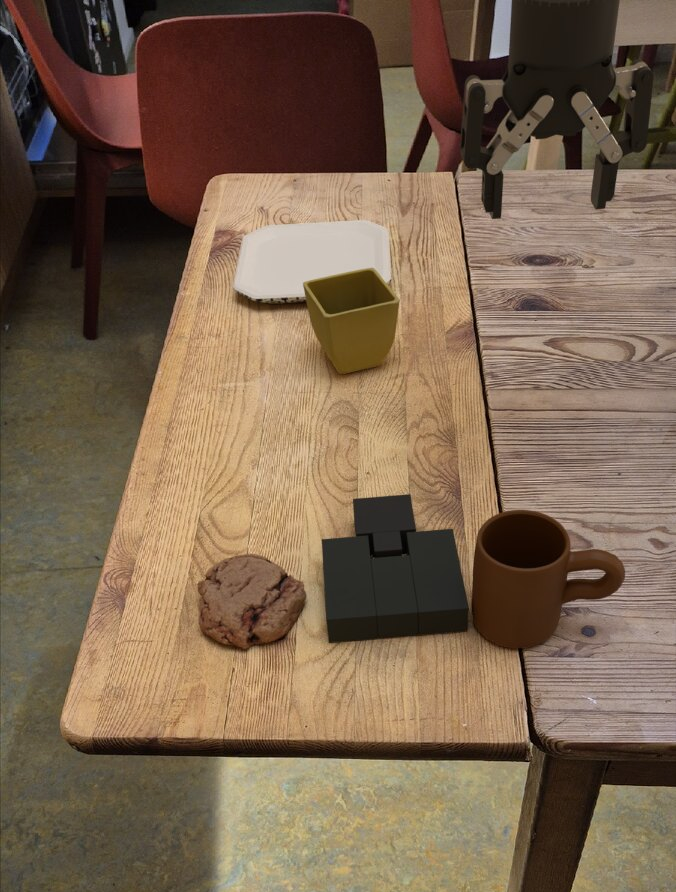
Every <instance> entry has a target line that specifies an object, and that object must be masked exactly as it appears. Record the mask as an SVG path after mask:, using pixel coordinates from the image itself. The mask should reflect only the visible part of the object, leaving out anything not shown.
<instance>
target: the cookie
mask: <svg viewBox="0 0 676 892" xmlns="http://www.w3.org/2000/svg"><path fill="white" fill-rule="evenodd" d="M204 577H205V579H204V580H199V581H198V583H197V592H198V595H199V596H201V599H200V600H199V606H198V611H199V612H200V615H198V620H197V621H198V625H199V629H200V631H201V632H203V633H205V634H206V635H207V636H208V637H211V638H212V639H213V640H215V641H217V643H221V644H222V645H226V646H231V647H232V648H233V647H234V646H235V647H236V648H241V649H242V650H246V649H249V648H250V647H251V646H253V645H260V644H264V645H265V644H266V643H267V644H269V643H270V642H274V641H277V640H279V639H282V638H283V637H284V636H285V635H286V634H289V631H290V629H291V628H292V627H293V626H294V623H295V622H297V620H298V618H299V615H300V614H301V611H303V610H304V605H305V601H306V599H307V592H306V591H305V584H304V582H303V581H302V580H299V579H296V578H295V577H294V576H293V575H292V574H288V573H287V571H286V570H285V569H284V568H283V567H282V566H280V565H279V564H277V563H276V562H273V561H271V560H270V559H269V558H267V557H266V556H264V555H260V554H256V553H244V554H238V555H237V554H236V555H234V556H232V557H226V558H224V559H222V560H221V561H219V562H217V563H216V564H214V565H213V566H212V567H210V568H208V570H207V571H206V572H205V574H204Z"/></svg>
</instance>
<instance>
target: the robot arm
mask: <svg viewBox="0 0 676 892" xmlns="http://www.w3.org/2000/svg"><path fill="white" fill-rule="evenodd" d="M620 2H621V1H620V0H511V5H510V6H511V7H510V8H511V9H510V28H509V46H508V60H507V61H508V62H507V67H506V69H505V70H506V71H505V73H504V75H503V76H502V78H501V79H481V78H480V77H479V76H478V75H475V74H471V75H469V76H467V78H466V79H465V82H464V89H463V91H464V92H463V101H462V102H463V103H462V116H461V127H460V140H459V153H460V156H461V159H462V162H463V165H464V166H465V167H466V168H467V169H469V170H470V169H471V170H472V169H478V170H480V171H481V196H480V200H481V203H482V206H483V208H484V210H485V213H489V215H490V218H491V220H498V219H499V220H500V219H501V218H502V211H503V210H502V208H503V191H504V172H503V170H502V169H503V168H504V167H505V166H506V164H507V163H508V162H509V160H510V158H512V155H514V153H518V152H519V151H520V149H521V148H522V147H523V145H524V144H525V142H526V141H527V140H528V139H529V137H533V138H534V139H535V140H536V141H537V140H545V139H548V138H552V137H554V136H562V137H565V138H566V137H575V136H577V133H579V132H581V131H582V130H583V129H585V128H586V129H587V131H588V133H589V134H590V136H591V138H593V141H595V143H596V144H597V146H598V147H599V149H600V150H599V153H597V154H595V157H594V158H595V159H594V165H593V175H592V183H591V191H590V203H591V204H592V206H593V208H594V209H595V210H605V209H606V206H607V202H611V201H612V199H613V198H614V196H615V192H616V186H617V185H616V183H617V178H618V171H619V164H620V161H621V160H622V159H623V158H624V157H626V156H627V155H629V154H631V153H635V154H638V153H641V152H643V151H644V150H645V149H646V148H647V145H648V137H649V125H650V117H651V116H650V115H651V108H652V107H651V106H652V97H653V87H654V77H655V76H654V72H653V71H652V69H651V68H650V67H649V66H648V64H646V62H645V61H643V60H642V59H640V58H636V59H633V61H631V63H629V65H627V66H620V67H614V66H613V56H614V48H615V40H616V33H617V25H618V16H619V10H620V9H619V8H620ZM615 87H618V88H619V89H618V90H619V93H620V94H621V95H622V97H623V98H624V100H625V108H624V119H623V130H622V132H619V133H617V134H615V135H613V133H612V132H611V130H610V129H609V128H608V126H607V124H606V123H605V121H604V119H603V118H602V116H601V115H600V113H599V110H600V108H602V105H603V104H604V103H605V101H607V99H608V98H609V96H610V95H611V93H612V92H613V91H614V89H615ZM500 98H503V101H504V103H505V104H506V106H507V107H508V108H509V111H508V112H507V113H506V115H505V116H504V118H502V120H501V122H500V123H499V125H498V127H497V130H496V132H495V134H494V135H493V137H492V138H491V140H490V141H489V143H488V144H487V145H486V146H485V147H484V146H482V138H483V137H482V136H483V128H484V127H483V126H484V118H485V117H484V116H485V114H488V113H490V112H491V111H492V110H493V108H494V104H495V102H496V101H497V99H500Z"/></svg>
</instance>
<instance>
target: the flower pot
mask: <svg viewBox="0 0 676 892" xmlns="http://www.w3.org/2000/svg"><path fill="white" fill-rule="evenodd" d="M303 287H304V292H305V297H306V302H305V303H306V306H307V310H308V316H309V321H310V323H311V327H312V330H313V332H314V335H315V337H316V339H317V340H318V343H319V345H320V346H321V348H322V349H323V351H324V353H325V354H326V356H327V357H328V359H329V361H330V362H331V363H332V365H333V367H334V369H335V370H336V372H337V373H338V374H340V375H345V374H350V373H354V372H359V371H363V370H367V369H372V368H376V367H379V366H380V365H382V364H383V362H384V360H385V359H386V358H387V357H388V355H389V353H390V351H391V350H392V347H393V346H394V345H393V344H394V342H395V338H396V333H397V332H396V331H397V325H398V317H399V309H400V301H401V299H400V298H399V297H398V295H397V294H396V293H395V291H394V290H392V289H391V287H390V286H389V284H388V285H387V283H386V282H385V281H384V280H383V278H382V277H381V276H380V274H379V273H378V272H377V271H376V270H375V269H374V268H366V269H361V270H356V271H351V272H346V273H341V274H337V275H332V276H328V277H323V278H319V279H314V280H310V281H306V282H303Z"/></svg>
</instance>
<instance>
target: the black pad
mask: <svg viewBox="0 0 676 892" xmlns="http://www.w3.org/2000/svg"><path fill="white" fill-rule="evenodd" d="M352 508H353V509H352V510H353V523H354V532H355V533H354V535H355V536H367V535H368V540H369V549H370V557H373V558H380V557H392V556H403V554H405V555H406V554H407V541H406V533H407V532H417V527H416V520H415V514H414V507H413V501H412V495H411V494H410V493H406V494H394V495H382V496H372V497H371V496H370V497H359V498H352Z"/></svg>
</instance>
